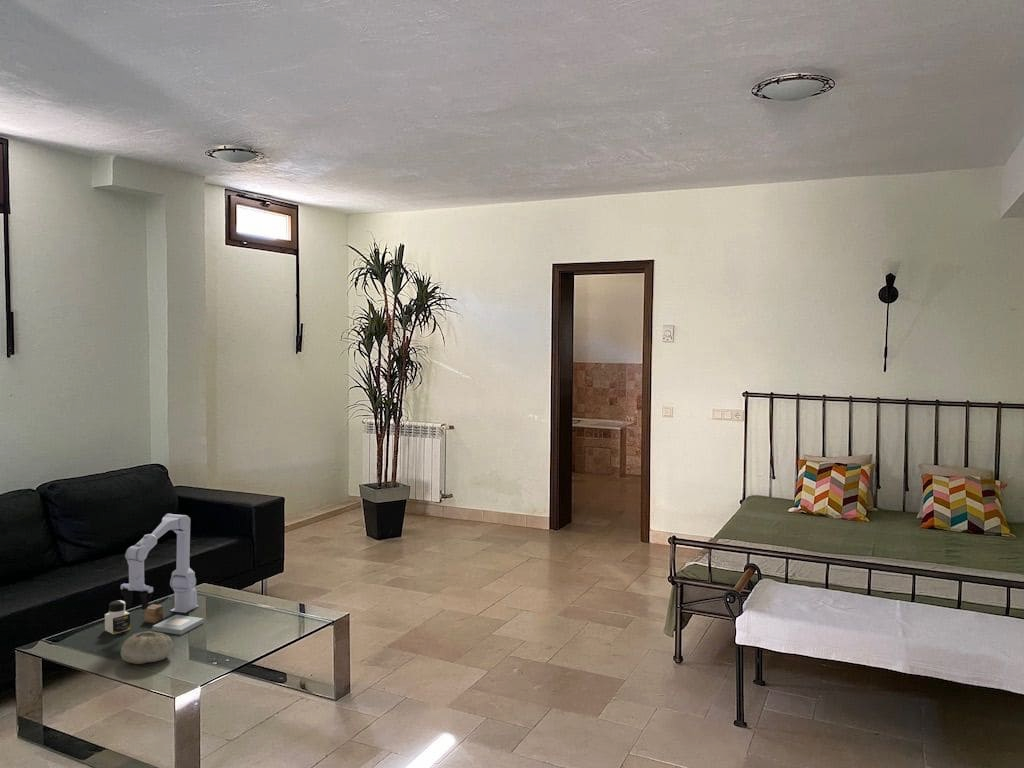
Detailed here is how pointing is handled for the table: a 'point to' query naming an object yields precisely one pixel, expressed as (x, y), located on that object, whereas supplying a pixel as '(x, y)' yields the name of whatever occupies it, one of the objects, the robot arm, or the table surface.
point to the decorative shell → (146, 647)
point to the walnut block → (154, 613)
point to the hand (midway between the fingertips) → (137, 607)
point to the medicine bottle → (117, 618)
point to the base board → (178, 624)
